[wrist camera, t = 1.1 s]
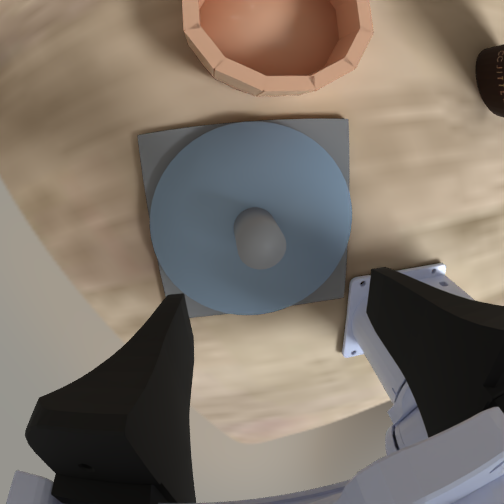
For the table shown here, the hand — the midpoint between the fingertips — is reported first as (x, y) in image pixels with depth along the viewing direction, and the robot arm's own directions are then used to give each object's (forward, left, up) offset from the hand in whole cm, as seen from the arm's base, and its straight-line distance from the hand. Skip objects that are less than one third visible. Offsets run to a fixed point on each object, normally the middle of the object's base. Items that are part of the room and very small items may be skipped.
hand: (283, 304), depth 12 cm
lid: (0, 0, -9) cm, 9 cm away
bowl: (-2, -13, -10) cm, 17 cm away
